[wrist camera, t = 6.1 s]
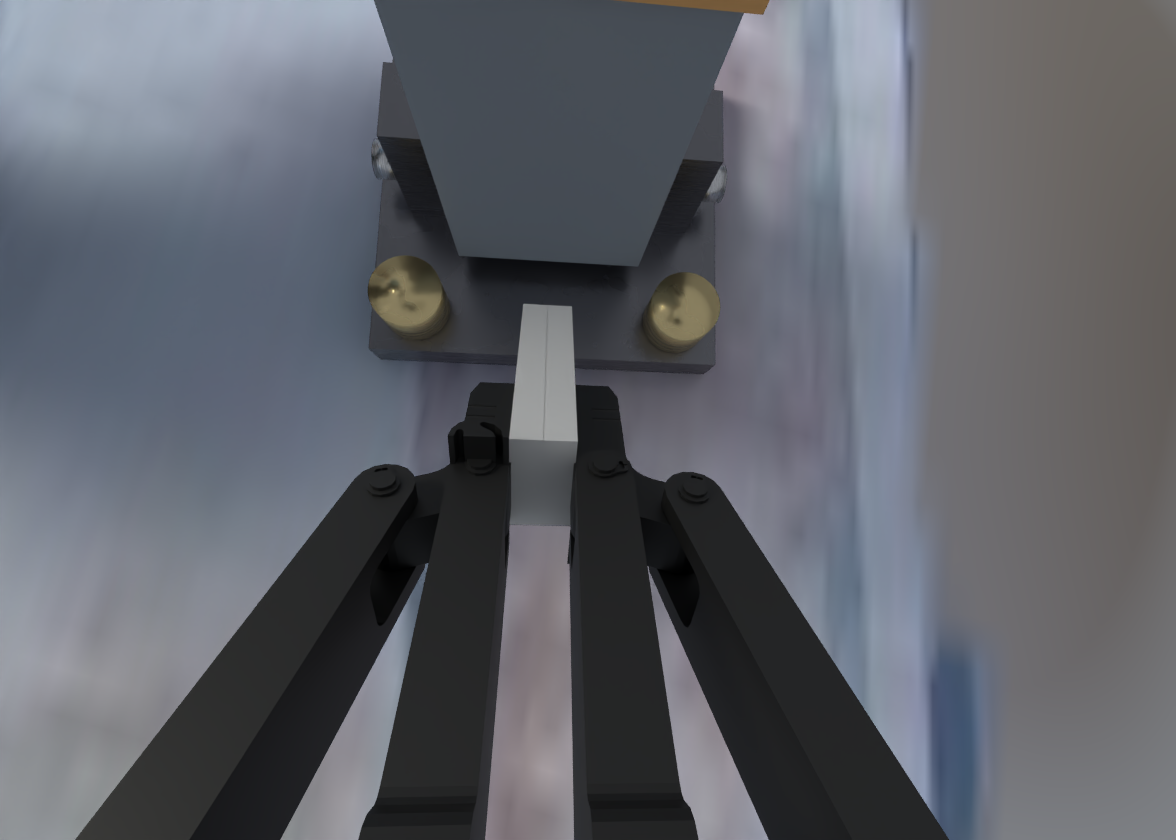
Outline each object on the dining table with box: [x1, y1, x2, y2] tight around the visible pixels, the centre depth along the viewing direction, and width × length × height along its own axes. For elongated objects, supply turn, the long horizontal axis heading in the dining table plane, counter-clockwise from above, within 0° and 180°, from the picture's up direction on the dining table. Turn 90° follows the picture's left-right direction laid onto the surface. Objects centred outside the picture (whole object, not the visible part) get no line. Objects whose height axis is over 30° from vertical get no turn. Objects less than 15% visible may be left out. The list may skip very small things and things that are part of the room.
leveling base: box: [368, 59, 727, 374], centre depth 26 cm, size 16×16×8 cm
